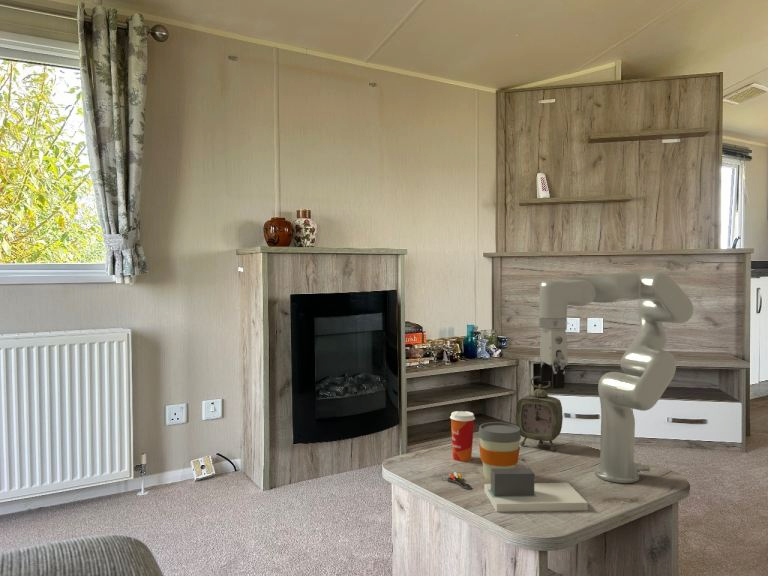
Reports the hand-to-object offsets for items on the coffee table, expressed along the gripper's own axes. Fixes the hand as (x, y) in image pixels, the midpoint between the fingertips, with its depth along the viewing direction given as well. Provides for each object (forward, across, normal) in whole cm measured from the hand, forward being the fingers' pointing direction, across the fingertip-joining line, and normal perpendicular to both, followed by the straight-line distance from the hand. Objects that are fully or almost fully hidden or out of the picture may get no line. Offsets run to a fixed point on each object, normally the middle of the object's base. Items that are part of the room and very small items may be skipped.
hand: (552, 384), depth 165 cm
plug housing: (+28, -7, +13) cm, 32 cm away
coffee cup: (+30, +28, +20) cm, 46 cm away
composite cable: (+31, +6, +25) cm, 40 cm away
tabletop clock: (+31, +40, -10) cm, 51 cm away
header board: (+30, -7, +7) cm, 32 cm away
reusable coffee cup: (+30, +11, +12) cm, 35 cm away
